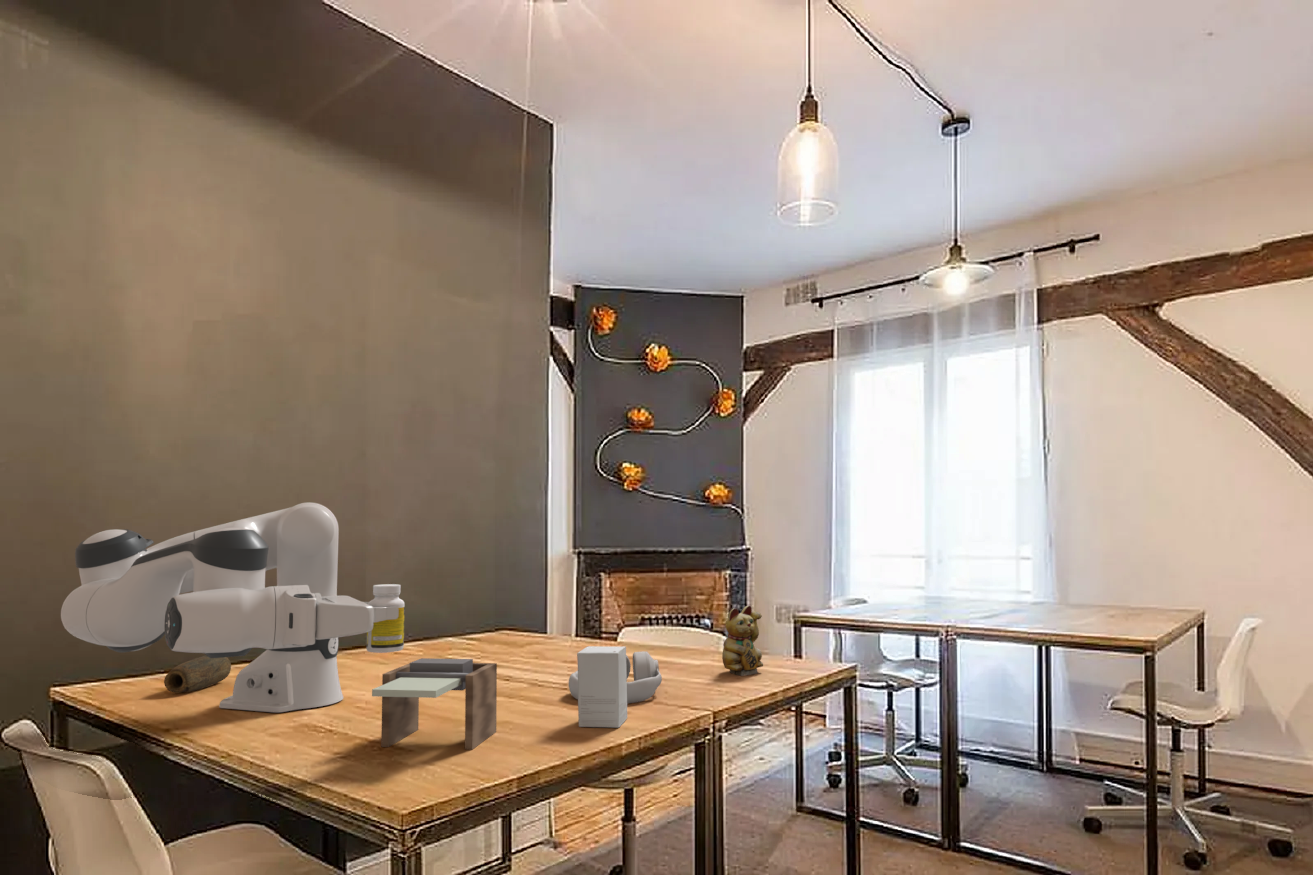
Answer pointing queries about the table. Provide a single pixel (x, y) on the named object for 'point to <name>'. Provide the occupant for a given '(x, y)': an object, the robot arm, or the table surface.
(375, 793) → the table surface
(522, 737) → the table surface
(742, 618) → the decorative figurine
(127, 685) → the table surface
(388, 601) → the supplement bottle
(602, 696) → the supplement box
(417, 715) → the walnut frame
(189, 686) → the brown hollow rounded cylinder
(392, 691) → the trapdoor
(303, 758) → the table surface
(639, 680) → the headphones
